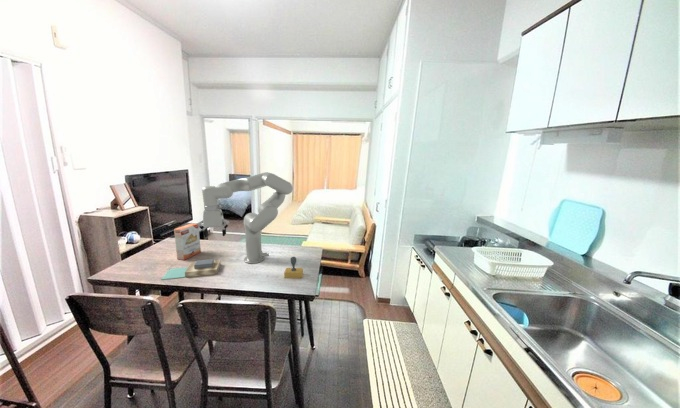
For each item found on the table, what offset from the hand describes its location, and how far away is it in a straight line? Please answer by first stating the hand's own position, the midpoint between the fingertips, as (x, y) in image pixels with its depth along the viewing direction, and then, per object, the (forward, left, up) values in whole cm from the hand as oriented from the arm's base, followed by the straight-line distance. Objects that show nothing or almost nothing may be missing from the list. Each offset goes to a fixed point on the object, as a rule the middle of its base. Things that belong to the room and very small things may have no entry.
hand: (215, 235), depth 139 cm
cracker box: (+22, -23, -21) cm, 38 cm away
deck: (+8, +1, -21) cm, 22 cm away
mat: (+22, +1, -21) cm, 30 cm away
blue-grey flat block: (+7, +1, -17) cm, 18 cm away
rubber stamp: (-43, +20, -21) cm, 52 cm away
